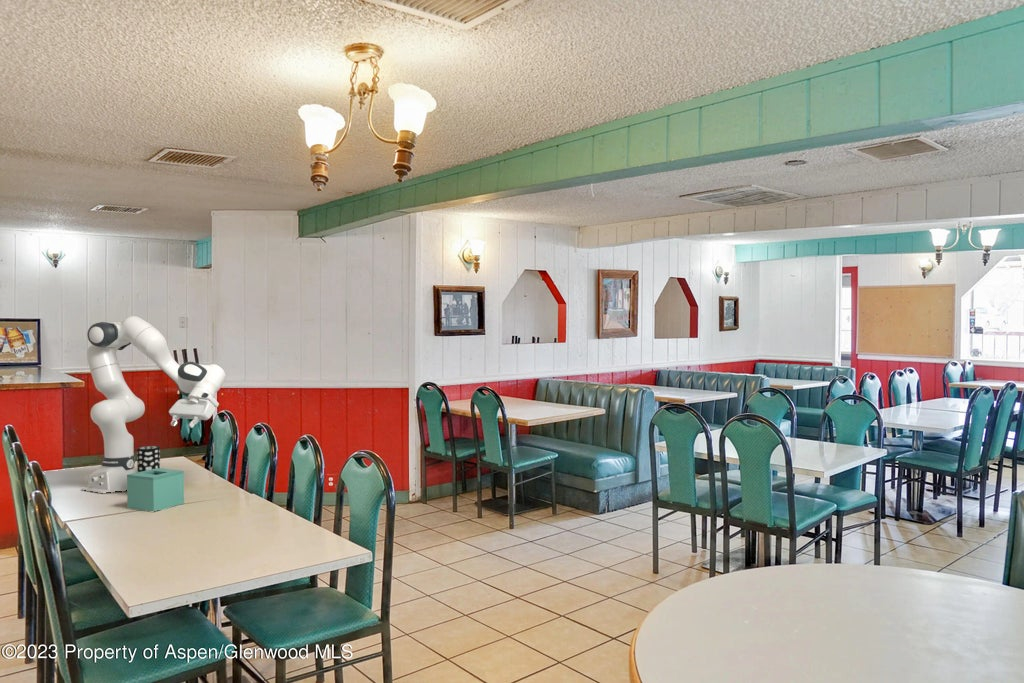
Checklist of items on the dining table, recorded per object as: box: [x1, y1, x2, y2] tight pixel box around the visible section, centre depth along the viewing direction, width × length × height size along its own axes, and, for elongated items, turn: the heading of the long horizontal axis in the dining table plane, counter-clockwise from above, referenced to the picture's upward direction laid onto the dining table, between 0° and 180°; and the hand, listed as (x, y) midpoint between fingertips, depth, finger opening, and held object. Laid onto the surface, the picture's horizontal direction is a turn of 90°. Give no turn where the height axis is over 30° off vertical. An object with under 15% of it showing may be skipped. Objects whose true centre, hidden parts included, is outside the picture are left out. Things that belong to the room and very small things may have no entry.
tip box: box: [126, 467, 185, 512], centre depth 283 cm, size 14×14×13 cm
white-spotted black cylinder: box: [136, 445, 161, 473], centre depth 300 cm, size 8×8×20 cm
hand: (181, 426), depth 295 cm, fingers open, 8 cm apart
